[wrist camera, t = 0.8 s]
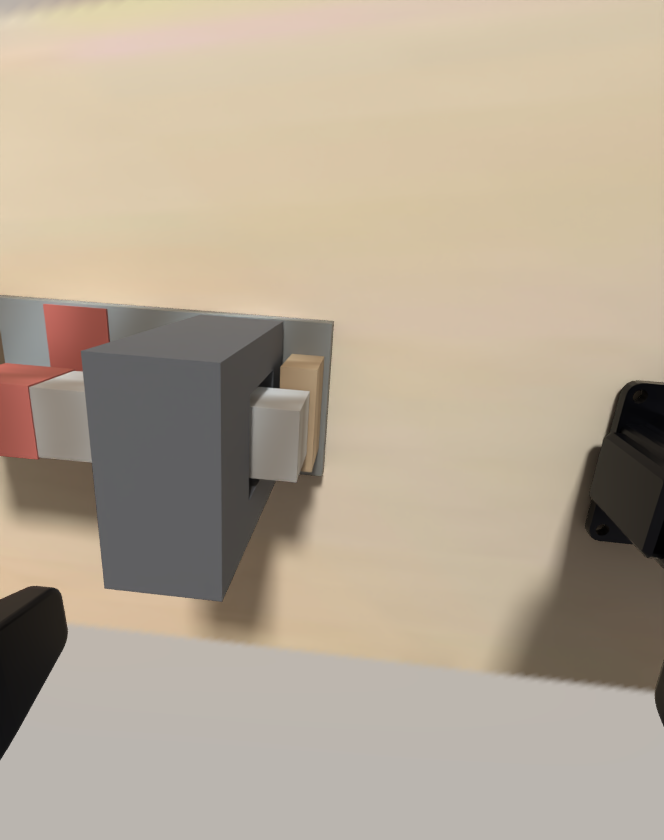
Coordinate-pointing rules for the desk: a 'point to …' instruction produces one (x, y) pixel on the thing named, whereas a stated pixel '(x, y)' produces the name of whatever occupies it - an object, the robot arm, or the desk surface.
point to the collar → (178, 451)
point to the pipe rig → (102, 323)
